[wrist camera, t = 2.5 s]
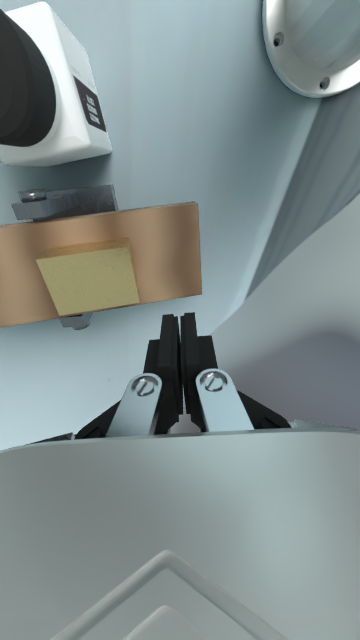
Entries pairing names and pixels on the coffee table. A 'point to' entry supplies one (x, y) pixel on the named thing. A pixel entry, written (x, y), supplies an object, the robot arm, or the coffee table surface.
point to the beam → (137, 224)
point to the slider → (90, 275)
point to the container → (46, 92)
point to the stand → (63, 206)
